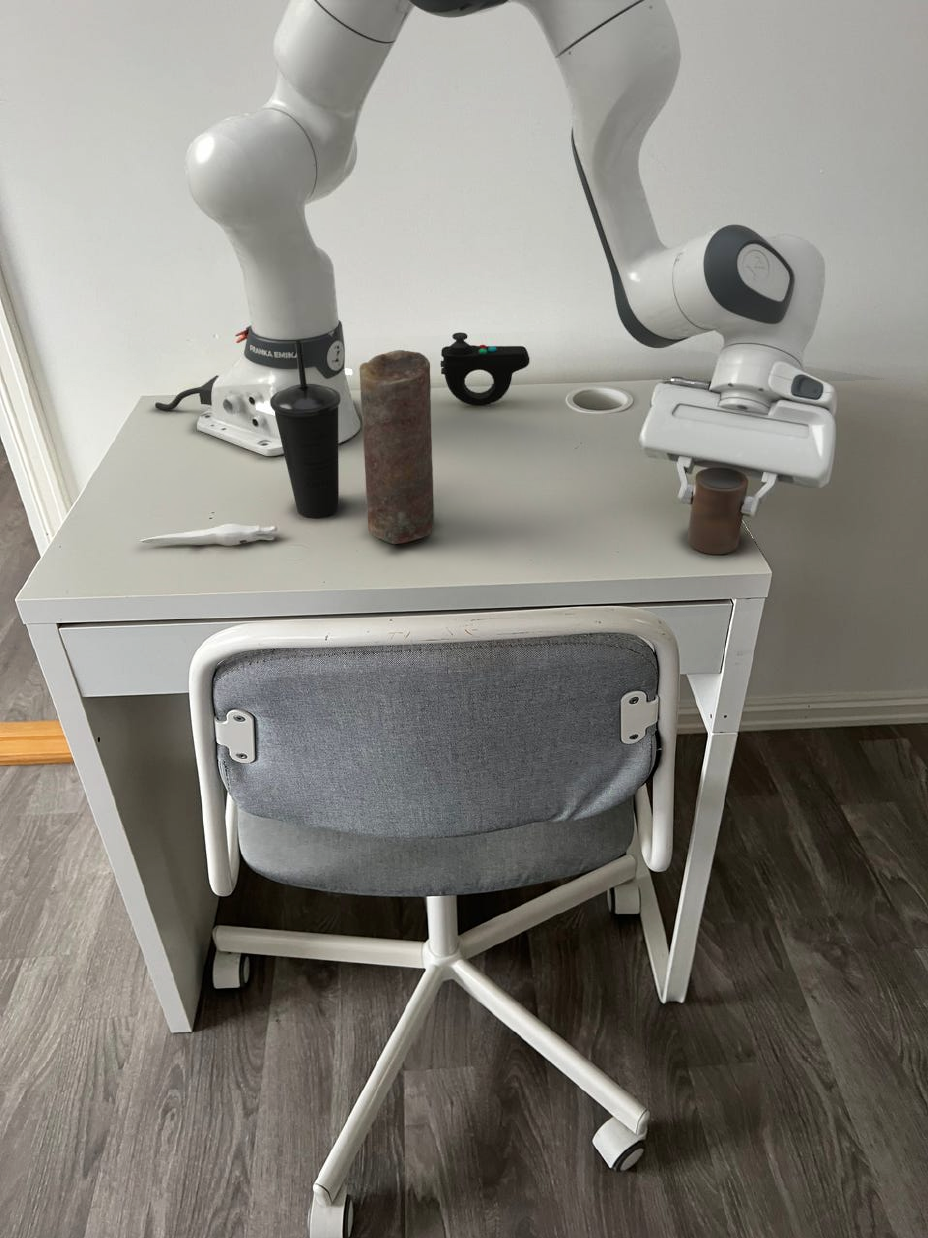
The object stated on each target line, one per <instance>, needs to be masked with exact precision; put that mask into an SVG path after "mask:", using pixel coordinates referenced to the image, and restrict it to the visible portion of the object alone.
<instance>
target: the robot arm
mask: <svg viewBox="0 0 928 1238" xmlns="http://www.w3.org/2000/svg"><path fill="white" fill-rule="evenodd" d="M509 3H515V4H519V5H520V6H522V7H524V8H525V9H526V10H527V11H528V12H529V13H530V14H531V15H532V16H533V17H534V19H535V20H536V22H537V24H538V25H539V27H540V29H541V31H542V33H543V35H544V38H545V40H546V42H547V45H548V47H549V49H550V51H551V54H552V56H553V58H554V59H555V62H556V64H557V67H558V69H559V71H560V74H561V77H562V79H563V82H564V86H565V89H566V92H567V93H566V94H567V98H568V100H569V106H570V112H571V118H572V119H571V120H572V127H571V133H570V142H571V143H570V144H571V149H572V155H573V159H574V162H575V167H576V170H577V175H578V177H579V181H580V183H581V186H582V189H583V193H584V196H585V198H586V201H587V204H588V207H589V211H590V213H591V216H592V219H593V222H594V225H595V228H596V231H597V235H598V237H599V240H600V243H601V246H602V249H603V252H604V254H605V258H606V261H607V265H608V268H609V271H610V275H611V280H612V286H613V287H612V288H613V295H614V300H615V306H616V310H617V314H618V317H619V320H620V322H621V324H622V325H623V327H624V328H625V330H626V331H627V332H628V334H629V335H630V336H631V337H632V338H633V339H634V340H636V342H638V343H639V344H641V345H643V346H646V347H648V348H652V349H665V348H668V347H671V346H673V345H675V344H678V343H680V342H683V341H685V340H687V339H690V338H692V337H695V336H698V335H702V334H707V333H711V332H713V331H715V332H716V333H717V334H719V335H721V336H722V338H723V345H722V347H721V349H720V351H719V356H718V359H717V362H716V365H715V368H714V371H713V375H712V379H711V380H703V379H698V378H697V379H695V378H693V379H692V378H686V377H683V376H680V375H679V376H678V375H677V376H676V375H673V376H671V377H670V378H667V379H663V380H661V381H660V382H658V383H657V384H656V385H655V387H654V389H653V392H652V395H651V399H650V409H649V411H648V413H647V415H646V418H645V420H644V423H643V425H642V427H641V430H640V433H639V436H638V441H639V445H640V448H641V449H642V451H643V453H644V455H645V456H646V457H648V458H650V459H657V460H661V461H667V462H672V463H676V469H677V474H678V476H679V480H680V484H681V485H680V488H679V492H678V495H677V501H678V503H680V504H684V505H689V506H692V499H693V491H694V484H690V483H689V479H688V476H687V475H692V474H693V471H694V468H695V467H697V468H698V467H699V468H704V469H708V468H728V469H732V470H736V471H738V472H740V473H742V474H744V475H745V476H746V477H750V478H756V479H757V478H758V479H761V480H760V482H761V488H760V489H759V490H758V491H757V492H756V493H755V494H754V495H753V496H751V495H746V496H745V499H744V504H743V505H742V508H741V513H742V514H741V515H743V516H744V517H748V518H751V519H756V518H757V515H758V513H759V509H760V506H761V504H763V503H764V502H765V501H766V500H767V499H768V498H770V497H771V495H773V494H774V493H775V492H776V491H777V486H778V483H783V484H787V485H788V484H789V485H793V486H798V487H803V488H808V489H813V490H820V489H822V488H823V487H825V486H826V485H827V484H828V483H829V482H830V480H831V476H832V471H833V466H834V460H835V453H836V441H837V431H836V430H837V429H836V421H835V416H836V413H837V408H838V398H837V393H836V390H835V387H834V386H833V385H831V384H830V383H828V382H826V381H824V380H821V379H819V378H817V377H815V376H813V375H811V374H809V373H807V372H805V371H803V370H804V353H805V350H806V347H807V345H808V344H809V343H810V341H811V340H812V338H813V336H814V333H815V329H816V326H817V322H818V319H819V315H820V312H821V307H822V303H823V298H824V292H825V285H826V266H825V260H824V257H823V254H822V252H821V251H820V250H819V249H818V248H817V247H816V246H815V245H814V244H812V243H811V242H810V241H809V240H806V239H804V238H802V237H800V236H796V235H793V234H787V233H786V234H785V233H783V234H782V233H781V234H776V235H772V236H762V235H761V234H759V233H758V232H756V231H755V230H753V229H752V228H750V227H748V226H745V225H742V224H729V225H726V226H721V227H718V228H715V229H713V230H710V231H706V232H704V233H702V234H699V235H696V236H694V237H692V238H690V239H689V240H686V241H684V242H682V243H679V244H676V245H674V246H671V247H668V246H666V245H665V244H664V243H663V242H662V241H661V239H660V237H659V234H658V231H657V228H656V225H655V222H654V219H653V215H652V212H651V209H650V206H649V205H650V204H649V202H648V199H647V195H646V192H645V190H644V189H645V188H644V186H643V184H642V180H641V176H640V169H639V159H640V152H641V148H642V145H643V142H644V140H645V138H646V135H647V133H648V132H649V130H650V128H651V126H652V125H653V123H654V122H655V121H656V119H657V118H658V116H659V115H660V113H661V112H662V111H663V109H664V107H665V106H666V104H667V102H668V101H669V99H670V96H671V95H672V92H673V90H674V88H675V85H676V81H677V78H678V76H679V72H680V71H679V70H680V66H681V59H682V52H681V46H680V40H679V35H678V31H677V27H676V24H675V21H674V18H673V16H672V13H671V11H670V9H669V6H668V4H667V2H666V0H289V2H288V3H287V6H286V8H285V11H284V13H283V15H282V18H281V19H280V22H279V24H278V27H277V29H276V31H275V34H274V36H273V40H272V53H273V58H274V61H275V63H276V66H277V68H278V70H277V76H276V77H277V78H276V81H275V86H274V89H273V93H272V94H271V96H270V98H269V99H268V101H266V103H264V104H263V106H261V107H260V108H259V109H256V110H253V111H250V112H246V113H241V114H237V115H233V116H230V117H226V118H223V119H221V120H219V121H217V122H216V123H214V124H213V125H211V126H210V127H209V128H207V129H205V130H204V131H203V132H202V133H200V134H198V136H197V137H195V138H194V139H193V140H192V142H190V144H189V146H188V148H187V151H186V154H185V158H184V177H185V182H186V185H187V188H188V191H189V194H190V196H191V197H192V199H193V202H194V203H195V204H196V206H197V207H198V208H199V209H200V210H201V212H202V213H203V214H205V215H206V216H207V218H209V219H211V220H212V221H214V222H215V223H217V225H218V226H219V227H220V228H221V229H222V230H223V232H224V233H225V235H226V236H227V238H228V241H229V242H230V244H231V247H232V249H233V251H234V253H235V255H236V258H237V260H238V263H239V268H240V270H241V274H242V278H243V283H244V289H245V294H246V301H247V307H248V313H249V320H250V324H249V326H246V327H245V329H244V330H242V331H240V332H238V333H237V334H235V337H238V338H237V339H236V340H235V343H236V344H239V343H241V342H244V341H245V340H246V341H245V346H244V350H243V354H242V355H240V357H238V358H237V359H236V360H235V361H234V362H233V363H232V364H231V365H229V366H228V367H227V368H226V369H225V370H224V371H222V372H221V373H220V374H218V375H215V376H213V377H212V378H211V379H209V380H208V381H207V382H205V383H204V384H202V385H201V386H198V387H193V388H189V389H186V390H183V391H181V392H179V393H178V394H177V395H176V396H175V398H174V399H173V400H172V401H171V402H170V403H169V404H167V403H162V402H155V404H154V407H155V409H157V410H158V409H159V410H162V411H171V410H174V409H175V408H177V407H178V405H179V404H180V403H181V401H182V400H184V399H186V398H187V397H189V396H193V395H196V394H198V395H199V401H200V405H204V406H205V405H207V406H211V407H210V408H208V409H206V410H205V411H204V412H203V413H202V414H201V415H200V416H199V417H198V419H197V421H196V427H197V430H198V431H200V432H202V433H204V434H207V435H210V436H212V437H215V438H218V439H220V440H222V441H226V442H228V443H229V444H230V443H231V444H233V445H236V446H237V447H238V446H239V447H241V448H244V449H247V450H249V451H251V452H254V453H257V454H259V455H262V456H264V457H265V456H266V457H274V456H275V457H276V456H280V455H284V451H283V447H282V443H281V439H280V434H279V430H278V426H277V422H276V417H275V413H274V411H273V410H272V408H271V406H270V399H271V397H272V396H273V395H274V394H276V393H277V392H279V391H282V390H284V389H286V388H289V387H291V386H294V385H299V384H300V378H299V370H298V361H297V353H296V345H295V341H296V340H301V341H302V349H303V358H304V366H305V375H306V383H307V384H317V385H321V386H326V387H329V388H332V389H334V390H336V391H337V392H338V393H339V394H340V398H341V401H340V404H339V405H338V445H339V444H341V443H344V442H345V441H347V440H349V439H351V438H353V437H354V436H355V435H356V434H357V433H358V432H359V430H360V428H361V426H362V425H361V424H362V423H361V420H360V418H359V416H358V413H357V411H356V408H355V405H354V401H353V398H352V395H351V394H352V393H351V391H350V387H349V383H348V379H347V376H348V375H350V376H352V375H353V369H351V368H346V367H345V363H346V348H345V347H346V345H345V336H344V329H343V323H342V321H341V319H339V312H338V311H339V310H338V301H337V300H338V299H337V291H336V289H337V288H336V280H335V268H334V264H333V260H332V259H331V257H330V256H329V254H328V253H326V251H325V250H323V249H322V248H321V247H319V246H317V244H316V242H315V240H314V238H313V237H312V234H311V231H310V229H309V226H308V222H307V219H306V218H307V217H306V212H305V211H306V210H305V208H306V207H305V206H307V205H309V204H312V203H314V202H316V201H320V200H322V199H324V198H326V197H328V196H329V195H331V194H332V193H334V191H336V190H337V189H338V188H339V187H340V186H342V184H343V183H345V181H346V180H348V178H349V177H350V176H351V174H352V173H353V171H354V169H355V167H356V164H357V159H358V142H357V137H356V131H357V129H358V125H359V121H360V117H361V114H362V112H363V108H364V106H365V103H366V101H367V98H368V96H369V94H370V93H371V90H372V88H373V86H374V84H375V82H376V80H377V78H378V76H379V74H380V72H381V70H382V68H383V66H384V65H385V63H386V61H387V59H388V57H389V55H390V53H391V51H392V49H393V48H394V46H395V44H396V42H397V39H398V38H399V35H400V33H401V32H402V30H403V28H404V26H405V24H406V22H407V20H408V18H409V17H410V15H411V13H412V11H413V9H414V8H415V7H416V8H418V9H419V10H421V11H423V12H425V13H427V14H430V15H433V16H437V17H441V18H449V19H451V18H461V17H466V16H470V15H478V14H485V13H488V12H492V11H494V10H496V9H498V8H499V7H501V6H504V5H506V4H509Z"/></svg>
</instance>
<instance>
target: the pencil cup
mask: <svg viewBox="0 0 928 1238" xmlns="http://www.w3.org/2000/svg"><path fill="white" fill-rule="evenodd" d="M693 485H694V491H693V499H692V505H691V507H690V514H689V515H690V517H689V524H688V533H687V543H688V545H689V546H690V547H691V549H694V550H696V551H698V552H699V553H703V554H707V555H726V554H730V553H733V552H734V551H735V550H737V548H738V547H739V543H740V542H739V541H740V536H741V530H742V524H743V519H744V517H743V515H741V514H742V513H741V508H742V505H743V504H744V499H745V496H747V492H748V485H749V479H748V476H745V475H744V474H742V473H740V472H738V471H736V470H732V469H728V468H704V469H702V470H699V471H698V472H697V473H696V474H695V477H694V484H693Z"/></svg>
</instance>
